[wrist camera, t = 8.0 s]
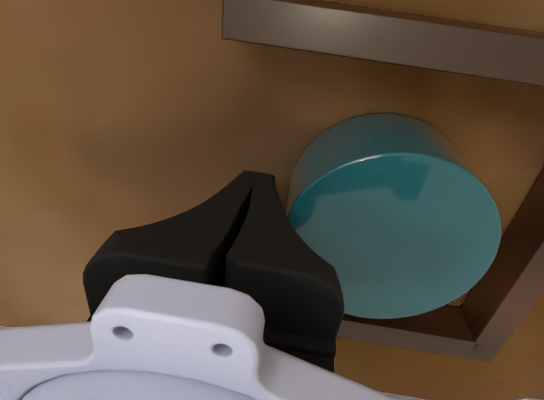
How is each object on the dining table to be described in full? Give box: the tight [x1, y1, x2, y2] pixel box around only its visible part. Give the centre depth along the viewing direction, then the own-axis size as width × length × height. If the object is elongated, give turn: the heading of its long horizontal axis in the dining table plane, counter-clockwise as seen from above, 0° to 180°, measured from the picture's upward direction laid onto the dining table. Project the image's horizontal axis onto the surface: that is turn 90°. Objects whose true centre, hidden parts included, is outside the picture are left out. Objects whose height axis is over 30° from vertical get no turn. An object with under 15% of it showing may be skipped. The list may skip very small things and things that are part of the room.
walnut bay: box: [222, 0, 544, 362], centre depth 14 cm, size 13×13×2 cm
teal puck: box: [286, 113, 501, 319], centre depth 14 cm, size 7×7×4 cm
